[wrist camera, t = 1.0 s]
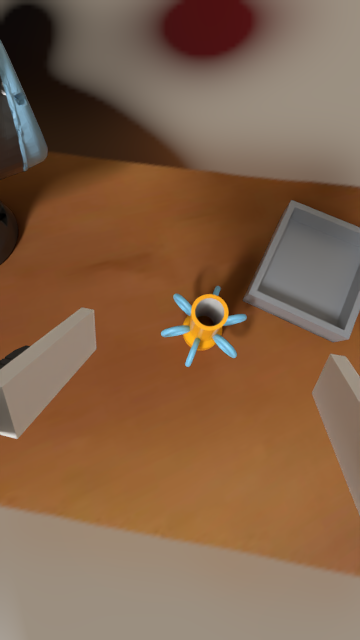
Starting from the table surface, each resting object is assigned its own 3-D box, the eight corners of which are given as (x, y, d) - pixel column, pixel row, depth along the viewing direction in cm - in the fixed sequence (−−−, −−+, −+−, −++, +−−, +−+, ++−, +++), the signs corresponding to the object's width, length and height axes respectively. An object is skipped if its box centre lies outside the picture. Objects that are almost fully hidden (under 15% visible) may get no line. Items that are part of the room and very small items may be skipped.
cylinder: (229, 295, 43) (253, 256, 28) (244, 356, 41) (278, 348, 26) (158, 309, 43) (145, 277, 28) (170, 371, 41) (162, 371, 26)
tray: (242, 300, 43) (248, 293, 39) (282, 214, 46) (291, 199, 42) (332, 342, 41) (348, 339, 37) (368, 250, 44) (386, 238, 40)
